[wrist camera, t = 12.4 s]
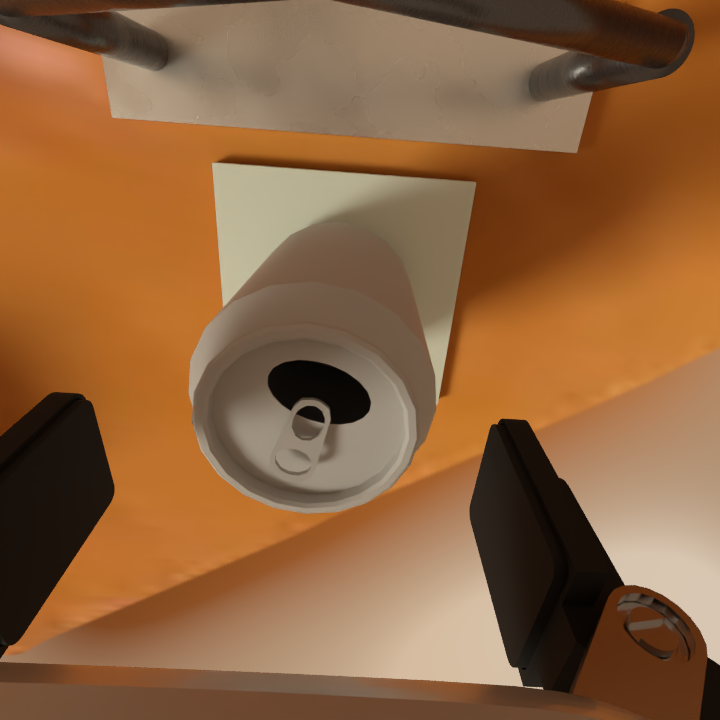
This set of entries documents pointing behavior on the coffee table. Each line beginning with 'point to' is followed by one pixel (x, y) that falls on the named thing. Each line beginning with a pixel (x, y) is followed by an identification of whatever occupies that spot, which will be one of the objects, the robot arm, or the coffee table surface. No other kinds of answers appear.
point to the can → (315, 374)
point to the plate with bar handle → (368, 62)
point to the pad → (355, 207)
